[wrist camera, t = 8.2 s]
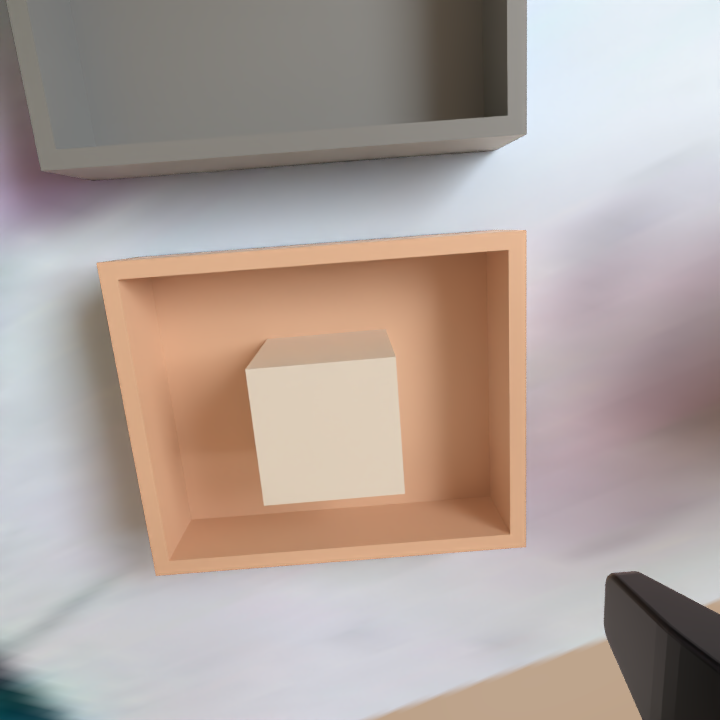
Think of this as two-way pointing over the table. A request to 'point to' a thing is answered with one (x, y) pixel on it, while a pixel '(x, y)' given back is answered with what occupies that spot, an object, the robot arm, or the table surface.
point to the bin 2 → (314, 317)
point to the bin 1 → (266, 81)
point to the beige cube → (326, 417)
